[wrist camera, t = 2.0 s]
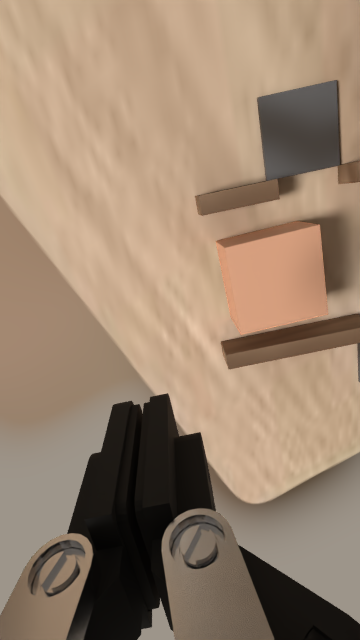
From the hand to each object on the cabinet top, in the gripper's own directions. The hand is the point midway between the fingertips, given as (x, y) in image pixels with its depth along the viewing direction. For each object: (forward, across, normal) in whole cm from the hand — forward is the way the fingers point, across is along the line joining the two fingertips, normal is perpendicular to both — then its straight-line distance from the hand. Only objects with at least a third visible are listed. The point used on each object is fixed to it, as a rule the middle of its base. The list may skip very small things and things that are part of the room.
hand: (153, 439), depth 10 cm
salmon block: (+17, -8, 0) cm, 19 cm away
